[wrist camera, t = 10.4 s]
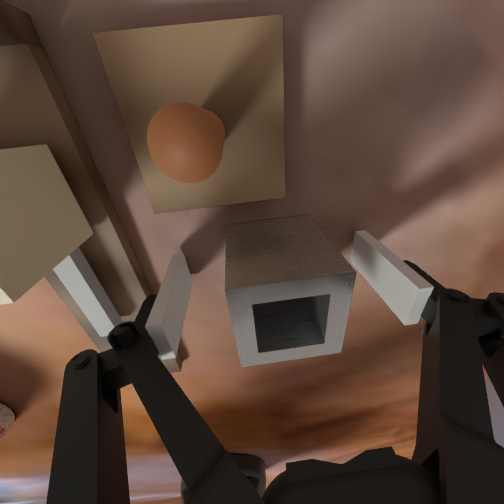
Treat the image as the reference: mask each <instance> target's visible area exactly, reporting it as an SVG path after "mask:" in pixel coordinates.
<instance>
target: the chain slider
mask: <svg viewBox="0 0 504 504" xmlns="http://www.w3.org/2000/svg"><path fill="white" fill-rule="evenodd" d="M93 234H94V233H93V231H92V229H91V227H90V225H89V223H88V221H87V220H86V218H85V216H84V214H83V212H82V210H81V208H80V206H79V204H78V203H77V201H76V199H75V197H74V195H73V193H72V191H71V189H70V187H69V186H68V184H67V182H66V180H65V178H64V176H63V174H62V172H61V170H60V168H59V167H58V165H57V163H56V161H55V159H54V157H53V155H52V153H51V151H50V150H49V148H48V146H47V144H44V145H35V146H26V147H17V148H8V149H0V305H1V304H8V303H14V302H15V301H17V300H18V299H19V298H20V297H21V296H22V295H23V294H25V293H26V292H27V291H28V290H29V289H30V288H32V287H33V286H34V285H35V284H36V283H37V282H38V281H40V280H41V279H42V278H43V277H44V276H45V275H47V274H48V273H49V272H50V271H51V270H52V269H53V270H54V272H55V273H56V274H57V276H58V277H59V279H60V280H61V282H62V283H63V284H64V286H65V287H66V289H67V290H68V291H69V293H70V294H71V296H72V297H73V299H74V300H75V301H76V303H77V304H78V306H79V307H80V309H81V310H82V311H83V313H84V314H85V316H86V317H87V318H88V320H89V321H90V323H91V324H92V326H93V327H94V328H95V330H96V331H97V333H98V334H99V335H100V337H103V336H108V334H109V332H110V331H111V330H112V329H113V328H114V327H116V326H117V325H118V324H121V323H123V321H122V319H121V318H120V316H119V314H118V313H117V311H116V309H115V308H114V306H113V304H112V302H111V301H110V299H109V297H108V296H107V294H106V292H105V291H104V289H103V287H102V285H101V284H100V282H99V280H98V279H97V277H96V275H95V274H94V272H93V270H92V269H91V267H90V265H89V263H88V262H87V260H86V258H85V257H84V255H83V253H82V252H81V250H80V248H79V246H80V245H81V244H82V243H83V242H85V241H86V240H87V239H88V238H89V237H90V236H91V235H93Z"/></svg>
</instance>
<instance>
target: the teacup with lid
mask: <svg viewBox="0 0 504 504" xmlns="http://www.w3.org/2000/svg"><path fill="white" fill-rule="evenodd" d="M14 420H15V416H14V413H13V412H12V410H11V409H10V408H9V407H7V406H6V405H4V404H2V403H0V442H1V440H2V439H3V437H4V436H5V435H6V433H7V432H8V430H9V429H10V427H11V426H12V425H13V423H14Z"/></svg>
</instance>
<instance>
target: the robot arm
mask: <svg viewBox="0 0 504 504" xmlns="http://www.w3.org/2000/svg"><path fill="white" fill-rule="evenodd" d="M350 261H351V262H352V264H353V265H354V266H355V267H356V268H357V269H358V271H359V272H360V273H361V274H362V275H363V277H364V278H365V279H366V280H367V281H368V282H369V284H370V285H371V286H372V287H373V288H374V290H375V291H376V292H377V293H378V294H379V296H380V297H381V298H382V299H383V300H384V301H385V303H386V304H387V305H388V306H389V307H390V309H391V310H392V311H393V312H394V313H395V314H396V316H397V317H398V318H399V319H400V320H401V322H402V323H403V324H404V325H411V324H418V322H419V320H420V317H421V316H422V317H423V318H424V319H425V320H426V323H425V325H424V327H423V329H422V331H421V333H420V335H423V333H424V335H423V349H422V364H421V378H420V393H419V408H418V422H417V437H416V446H415V450H414V453H413V456H412V460H410V459H408V458H405V457H402V456H399V455H396V454H395V452H394V450H393V448H392V446H391V447H385V448H379V449H372V450H366V451H364V452H363V453H361V454H359V455H358V456H356V457H354V458H353V459H351V460H349V461H348V462H346V463H344V464H337V463H331V462H326V461H320V460H315V459H309V460H302V461H296V462H290V463H286V471H284V472H282V473H281V474H279V475H278V476H277V477H276V478H275V479H274V480H273V481H272V482H271V483H270V484H269V486H268V487H267V489H266V490H265V487H266V473H265V464H264V462H263V461H262V460H261V459H259V458H256V457H253V456H248V455H230V454H229V453H228V451H226V450H225V449H224V448H223V446H222V445H221V444H220V442H219V441H218V439H217V438H216V437H215V435H214V434H213V432H212V431H211V430H210V428H209V427H208V426H207V424H206V423H205V421H204V420H203V419H202V417H201V416H200V414H199V413H198V412H197V410H196V409H195V407H194V406H193V405H192V403H191V402H190V400H189V399H188V398H187V396H186V395H185V393H184V392H183V391H182V389H181V388H180V386H179V385H178V384H177V382H176V381H175V379H174V378H173V377H172V375H171V374H170V372H169V371H168V370H167V368H166V367H165V366H164V364H163V363H162V361H161V360H160V359H159V357H158V356H159V354H160V356H161V358H162V360H165V359H172V358H176V356H177V351H178V347H179V342H180V337H181V333H182V328H183V324H184V319H185V314H186V310H187V305H188V300H189V296H190V291H191V286H192V279H191V276H190V272H189V269H188V266H187V262H186V259H185V256H184V253H182V254H174V255H173V257H172V259H171V262H170V264H169V267H168V269H167V272H166V275H165V277H164V280H163V282H162V285H161V287H160V290H159V292H158V294H153V295H149V296H148V297H147V298H146V299H145V300H144V301H143V303H142V305H141V307H140V310H139V312H138V314H137V316H136V318H135V321H134V322H133V321H127V322H123V323H121V324H118V325H117V326H116V327H114V328H113V329H112V330H111V331H110V332H109V334H108V337H107V339H108V342H109V343H110V345H111V346H112V348H111V349H109V350H106V351H104V352H101V353H99V354H98V353H97V352H96V351H95V350H93V349H90V350H85V351H82V352H80V353H79V354H77V355H75V356H74V357H73V358H72V359H71V360H70V361H69V362H68V364H67V365H66V368H65V372H64V379H63V386H62V394H61V401H60V408H59V416H58V423H57V430H56V437H55V445H54V452H53V459H52V466H51V474H50V481H49V488H48V496H47V503H46V504H130V497H129V486H128V474H127V463H126V451H125V440H124V428H123V417H122V405H121V394H120V388H122V387H124V386H126V385H128V384H131V383H132V384H133V386H134V388H135V390H136V392H137V394H138V396H139V397H140V399H141V401H142V403H143V405H144V407H145V409H146V411H147V413H148V414H149V416H150V418H151V420H152V422H153V424H154V426H155V428H156V430H157V431H158V433H159V435H160V437H161V439H162V441H163V443H164V445H165V447H166V448H167V450H168V452H169V454H170V456H171V458H172V460H173V462H174V464H175V465H176V467H177V469H178V471H179V473H180V475H181V477H182V481H181V500H182V504H504V448H503V447H502V446H500V445H499V444H497V443H496V442H495V440H494V436H493V430H492V424H491V417H490V411H489V405H488V399H487V392H486V386H485V379H484V372H483V366H484V368H485V370H486V372H487V374H488V376H489V378H490V380H491V382H492V384H493V386H494V388H495V390H496V392H497V394H498V396H499V398H500V400H501V402H502V404H503V406H504V293H496V292H494V293H490V294H489V295H488V297H487V298H486V299H475V298H470V297H469V296H468V295H466V294H465V293H463V292H461V291H458V290H455V289H446V288H444V287H443V286H442V285H441V284H439V283H438V282H437V281H436V280H434V279H433V278H432V277H430V276H429V275H427V273H425V272H424V271H423V270H421V269H420V268H419V267H418V266H417V265H415V264H413V263H411V262H409V261H407V260H404V261H402V260H401V259H400V258H399V257H397V256H396V255H395V254H394V253H392V252H391V251H390V250H389V249H388V248H386V247H385V246H384V245H383V244H382V243H380V242H379V241H378V240H377V239H376V238H374V237H373V236H372V235H371V234H370V233H368V232H367V231H366V230H361V231H355V237H354V242H353V248H352V254H351V260H350ZM482 364H483V366H482Z"/></svg>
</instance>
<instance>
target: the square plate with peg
mask: <svg viewBox="0 0 504 504" xmlns="http://www.w3.org/2000/svg"><path fill="white" fill-rule="evenodd" d="M92 34H93V37H94V40H95V43H96V45H97V48H98V51H99V54H100V57H101V60H102V63H103V66H104V68H105V71H106V74H107V77H108V80H109V83H110V86H111V89H112V92H113V94H114V97H115V100H116V103H117V106H118V109H119V112H120V115H121V117H122V120H123V123H124V126H125V129H126V132H127V135H128V138H129V141H130V143H131V146H132V149H133V152H134V155H135V158H136V161H137V164H138V166H139V169H140V172H141V175H142V178H143V181H144V184H145V187H146V189H147V192H148V195H149V198H150V201H151V204H152V207H153V210H154V213H155V214H157V213H165V212H173V211H181V210H189V209H197V208H205V207H213V206H221V205H229V204H237V203H245V202H253V201H261V200H270V199H278V198H286V196H285V131H284V67H283V14H279V15H269V16H258V17H248V18H238V19H228V20H218V21H208V22H197V23H187V24H177V25H167V26H157V27H147V28H136V29H126V30H116V31H106V32H96V33H92Z"/></svg>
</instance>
